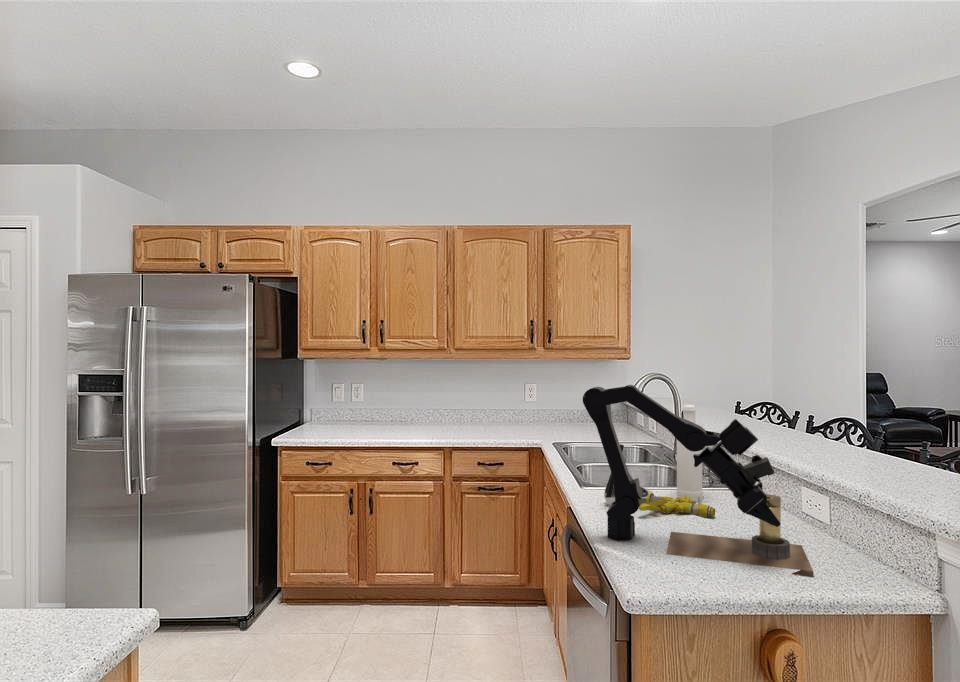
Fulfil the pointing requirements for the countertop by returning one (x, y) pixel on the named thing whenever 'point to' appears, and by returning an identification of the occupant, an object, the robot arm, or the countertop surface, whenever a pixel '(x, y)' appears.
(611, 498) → the butterfly valve
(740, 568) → the countertop surface
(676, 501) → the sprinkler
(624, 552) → the countertop surface
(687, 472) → the bottle
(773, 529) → the brass fitting
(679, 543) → the board
